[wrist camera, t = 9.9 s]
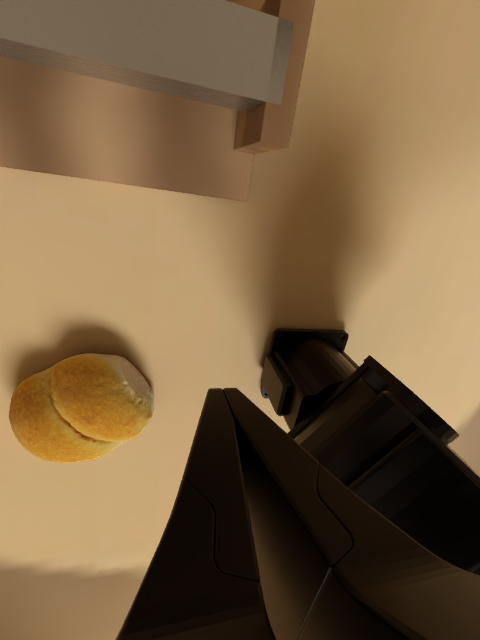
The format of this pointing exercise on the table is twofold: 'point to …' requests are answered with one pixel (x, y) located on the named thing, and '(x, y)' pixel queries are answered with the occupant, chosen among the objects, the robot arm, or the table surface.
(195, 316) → the table surface
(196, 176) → the stand
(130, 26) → the brushed metal beam
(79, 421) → the bread roll
